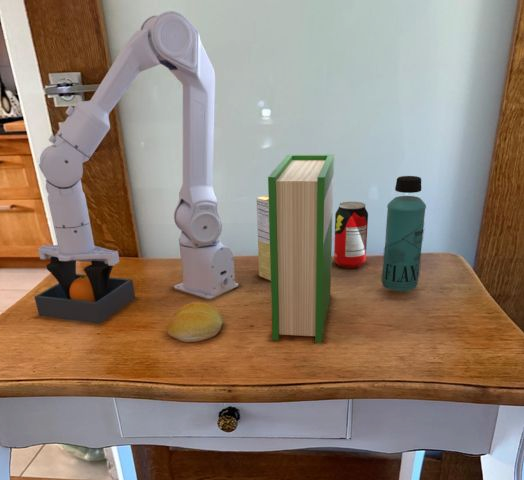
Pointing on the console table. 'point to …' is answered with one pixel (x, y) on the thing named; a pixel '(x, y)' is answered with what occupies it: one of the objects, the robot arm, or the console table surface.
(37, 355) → the console table surface
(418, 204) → the beverage bottle
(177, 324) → the bread roll
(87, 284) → the orange
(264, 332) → the console table surface
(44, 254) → the robot arm
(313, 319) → the hardback book
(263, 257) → the candy box
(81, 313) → the dark gray tray
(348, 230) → the beverage can
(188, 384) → the console table surface
